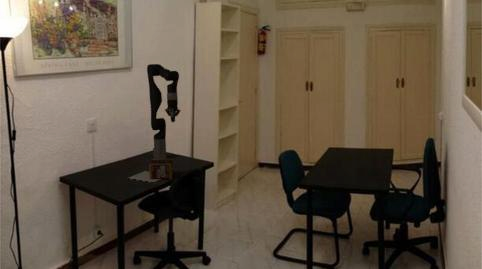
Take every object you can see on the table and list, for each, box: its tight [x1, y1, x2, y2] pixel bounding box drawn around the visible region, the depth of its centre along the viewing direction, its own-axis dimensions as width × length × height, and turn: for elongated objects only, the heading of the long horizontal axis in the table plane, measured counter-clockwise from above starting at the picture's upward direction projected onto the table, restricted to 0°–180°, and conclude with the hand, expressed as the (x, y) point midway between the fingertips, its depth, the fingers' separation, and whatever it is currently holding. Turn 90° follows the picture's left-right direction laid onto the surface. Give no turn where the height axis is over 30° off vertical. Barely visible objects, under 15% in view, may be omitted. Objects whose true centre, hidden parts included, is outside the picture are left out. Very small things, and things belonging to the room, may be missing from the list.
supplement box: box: [148, 158, 174, 180], centre depth 336 cm, size 10×15×16 cm
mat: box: [128, 170, 162, 183], centre depth 336 cm, size 22×19×1 cm
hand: (173, 122), depth 351 cm, fingers closed
